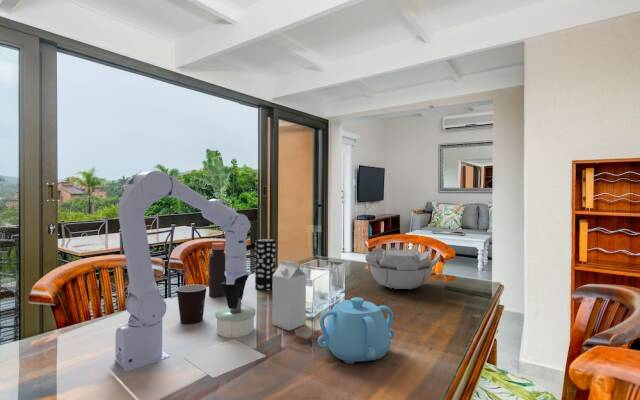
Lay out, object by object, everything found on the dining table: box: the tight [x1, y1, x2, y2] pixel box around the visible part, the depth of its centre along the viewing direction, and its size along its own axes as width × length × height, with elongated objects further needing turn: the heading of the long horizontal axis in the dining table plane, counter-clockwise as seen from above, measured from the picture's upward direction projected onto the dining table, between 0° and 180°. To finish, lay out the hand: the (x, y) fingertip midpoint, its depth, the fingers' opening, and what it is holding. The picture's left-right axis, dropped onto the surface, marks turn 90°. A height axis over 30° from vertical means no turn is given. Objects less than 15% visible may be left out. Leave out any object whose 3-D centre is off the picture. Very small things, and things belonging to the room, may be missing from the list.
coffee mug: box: [176, 284, 207, 325], centre depth 110 cm, size 12×9×10 cm
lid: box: [214, 298, 256, 322], centre depth 100 cm, size 11×11×4 cm
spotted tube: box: [254, 238, 277, 292], centre depth 146 cm, size 8×8×20 cm
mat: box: [182, 338, 267, 379], centre depth 83 cm, size 14×14×1 cm
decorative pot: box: [317, 296, 395, 364], centre depth 86 cm, size 16×16×14 cm
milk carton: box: [271, 259, 307, 332], centre depth 105 cm, size 7×7×19 cm
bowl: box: [216, 316, 255, 338], centre depth 100 cm, size 10×10×5 cm
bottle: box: [208, 242, 226, 298], centre depth 136 cm, size 7×7×20 cm
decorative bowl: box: [365, 247, 441, 290], centre depth 149 cm, size 30×30×15 cm
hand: (235, 303), depth 100 cm, fingers open, 7 cm apart
